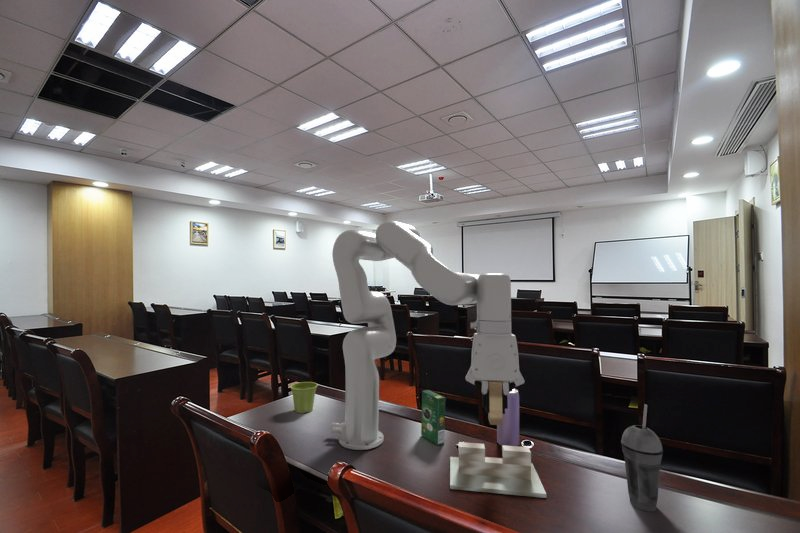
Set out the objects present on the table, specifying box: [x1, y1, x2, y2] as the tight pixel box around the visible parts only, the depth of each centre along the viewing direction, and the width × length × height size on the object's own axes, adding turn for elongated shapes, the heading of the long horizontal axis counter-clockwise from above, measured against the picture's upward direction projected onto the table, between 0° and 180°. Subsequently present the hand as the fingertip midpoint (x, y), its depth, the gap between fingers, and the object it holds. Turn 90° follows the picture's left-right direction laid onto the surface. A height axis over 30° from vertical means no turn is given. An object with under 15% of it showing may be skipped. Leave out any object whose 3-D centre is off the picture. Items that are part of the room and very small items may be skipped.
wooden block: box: [487, 381, 503, 426], centre depth 82 cm, size 12×3×9 cm, turn 172°
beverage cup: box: [620, 403, 664, 512], centre depth 73 cm, size 7×7×20 cm
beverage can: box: [496, 388, 520, 447], centre depth 100 cm, size 6×6×15 cm
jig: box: [449, 441, 548, 499], centre depth 82 cm, size 20×13×7 cm, turn 82°
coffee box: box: [420, 389, 446, 446], centre depth 102 cm, size 8×3×13 cm, turn 32°
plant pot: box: [289, 381, 319, 414], centre depth 124 cm, size 9×9×9 cm
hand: (494, 410), depth 79 cm, fingers closed on wooden block, 2 cm apart
